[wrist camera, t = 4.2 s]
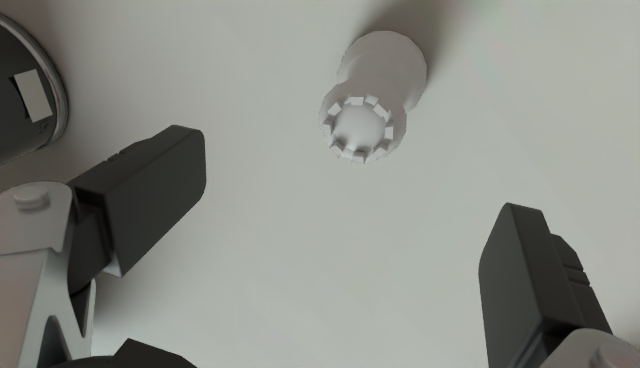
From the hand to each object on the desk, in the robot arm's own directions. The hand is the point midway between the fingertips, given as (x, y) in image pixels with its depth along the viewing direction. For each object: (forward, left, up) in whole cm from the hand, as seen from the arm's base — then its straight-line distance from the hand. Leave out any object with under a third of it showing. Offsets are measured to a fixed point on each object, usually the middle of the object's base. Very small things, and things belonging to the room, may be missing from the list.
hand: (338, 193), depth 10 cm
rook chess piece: (0, 0, -12) cm, 12 cm away
